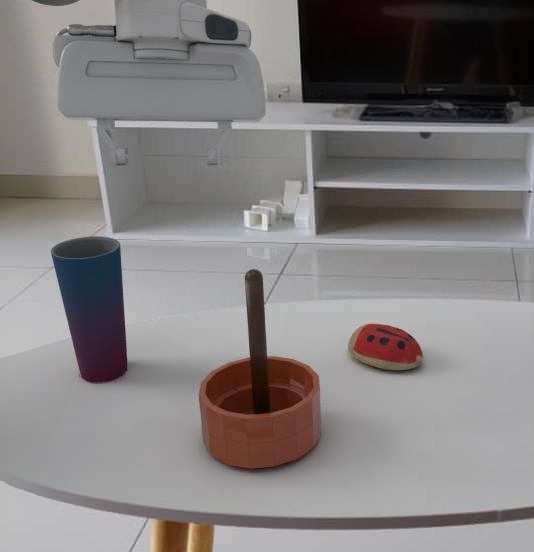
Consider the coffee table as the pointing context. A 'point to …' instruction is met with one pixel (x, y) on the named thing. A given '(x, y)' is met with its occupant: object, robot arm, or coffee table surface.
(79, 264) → the cup
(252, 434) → the bowl
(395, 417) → the coffee table surface
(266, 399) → the brown rod
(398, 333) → the ladybug figurine
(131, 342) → the coffee table surface
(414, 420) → the coffee table surface
